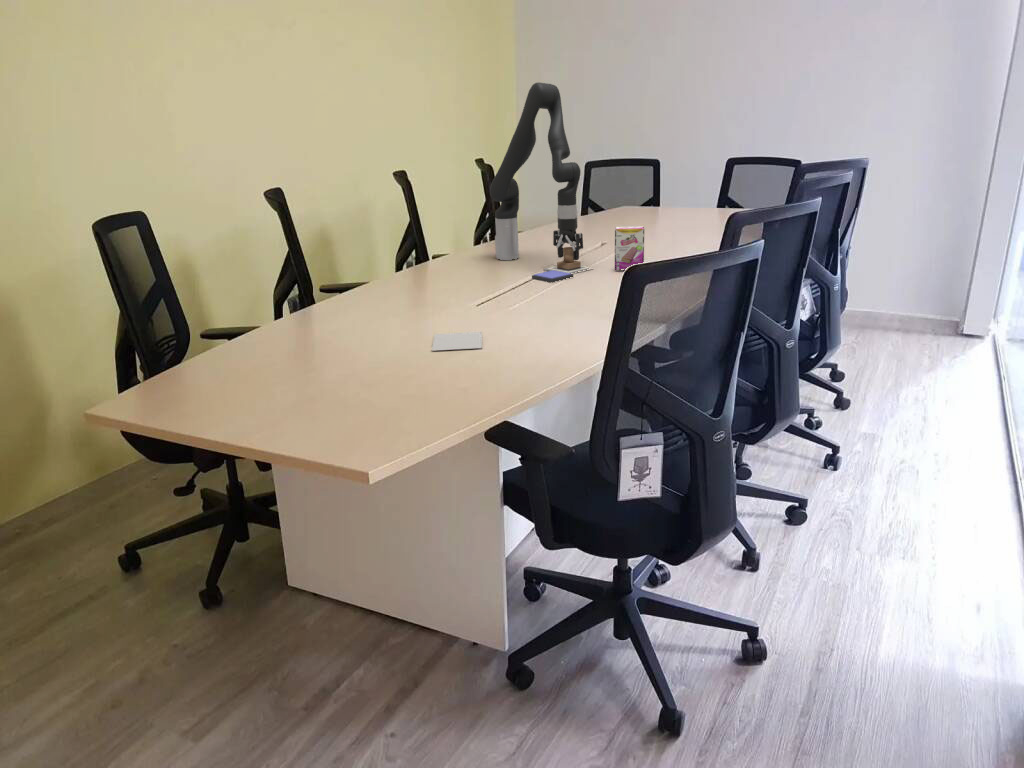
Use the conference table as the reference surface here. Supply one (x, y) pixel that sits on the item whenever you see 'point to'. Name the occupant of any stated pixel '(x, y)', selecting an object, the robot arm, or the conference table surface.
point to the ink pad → (552, 276)
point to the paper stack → (457, 341)
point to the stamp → (568, 260)
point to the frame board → (567, 270)
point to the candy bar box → (628, 246)
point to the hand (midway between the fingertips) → (568, 258)
